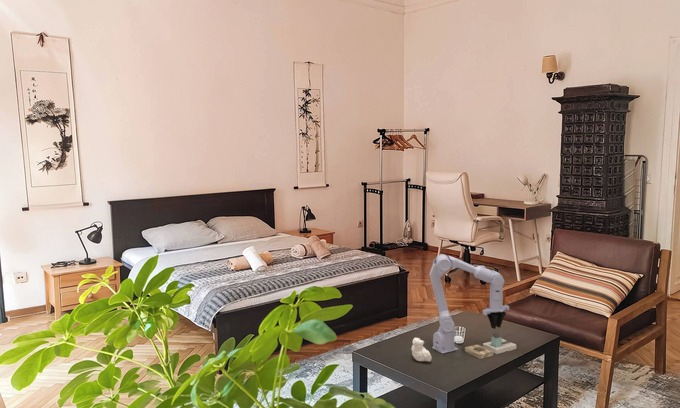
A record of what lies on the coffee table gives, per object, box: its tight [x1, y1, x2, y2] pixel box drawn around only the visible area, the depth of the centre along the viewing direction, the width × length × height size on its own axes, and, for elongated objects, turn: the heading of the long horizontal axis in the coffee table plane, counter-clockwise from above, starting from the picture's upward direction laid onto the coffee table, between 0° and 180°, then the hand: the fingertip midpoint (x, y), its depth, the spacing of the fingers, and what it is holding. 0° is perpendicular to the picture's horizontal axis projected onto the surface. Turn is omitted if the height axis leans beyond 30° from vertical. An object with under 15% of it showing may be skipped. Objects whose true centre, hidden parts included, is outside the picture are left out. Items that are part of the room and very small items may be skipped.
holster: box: [464, 343, 494, 360], centre depth 238 cm, size 8×10×2 cm
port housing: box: [482, 338, 517, 355], centre depth 244 cm, size 12×9×2 cm
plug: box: [490, 331, 503, 348], centre depth 242 cm, size 3×3×8 cm
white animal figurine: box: [410, 337, 432, 363], centre depth 232 cm, size 12×8×11 cm
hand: (495, 327), depth 242 cm, fingers open, 2 cm apart
